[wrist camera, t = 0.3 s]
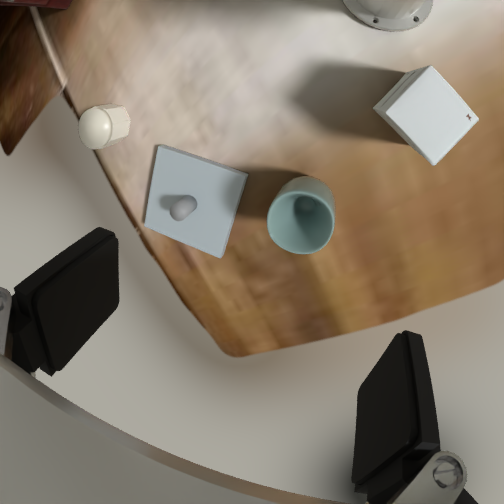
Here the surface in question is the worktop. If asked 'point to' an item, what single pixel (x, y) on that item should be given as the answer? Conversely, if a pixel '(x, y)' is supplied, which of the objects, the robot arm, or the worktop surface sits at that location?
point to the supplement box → (426, 113)
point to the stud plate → (205, 191)
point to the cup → (302, 215)
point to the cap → (103, 126)
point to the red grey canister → (38, 3)
